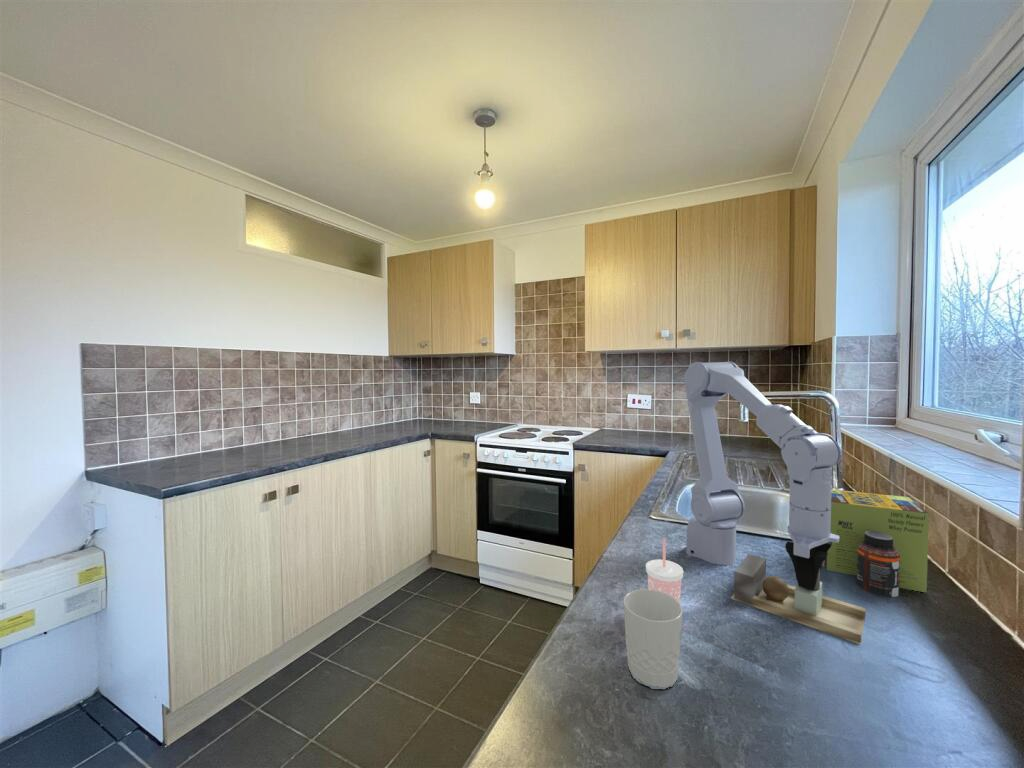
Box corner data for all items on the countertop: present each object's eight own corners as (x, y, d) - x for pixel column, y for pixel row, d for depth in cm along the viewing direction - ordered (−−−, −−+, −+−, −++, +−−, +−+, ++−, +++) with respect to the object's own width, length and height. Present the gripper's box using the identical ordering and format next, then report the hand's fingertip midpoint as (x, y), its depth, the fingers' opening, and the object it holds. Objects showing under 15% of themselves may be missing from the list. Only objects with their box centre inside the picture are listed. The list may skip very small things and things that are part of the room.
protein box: (928, 594, 76) (931, 513, 75) (825, 575, 83) (827, 501, 83) (906, 569, 85) (909, 496, 84) (816, 554, 92) (817, 487, 92)
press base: (730, 604, 74) (730, 571, 74) (746, 582, 81) (746, 552, 81) (860, 652, 61) (861, 612, 61) (865, 621, 69) (866, 585, 68)
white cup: (640, 645, 64) (640, 583, 63) (691, 671, 58) (691, 603, 58) (613, 672, 58) (612, 604, 58) (666, 704, 53) (666, 629, 52)
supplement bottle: (907, 605, 73) (909, 543, 72) (869, 601, 74) (871, 540, 74) (884, 587, 79) (886, 529, 78) (849, 584, 80) (850, 527, 79)
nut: (759, 599, 73) (760, 577, 73) (765, 590, 76) (765, 569, 76) (786, 608, 70) (786, 586, 70) (790, 598, 73) (791, 577, 73)
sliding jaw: (794, 612, 69) (795, 566, 68) (801, 597, 73) (801, 554, 73) (816, 620, 67) (817, 572, 66) (821, 604, 71) (822, 559, 71)
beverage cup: (648, 604, 74) (648, 529, 74) (684, 613, 72) (684, 535, 71) (643, 624, 69) (642, 543, 68) (682, 634, 66) (682, 549, 66)
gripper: (833, 524, 61) (832, 611, 62) (844, 499, 71) (843, 575, 72) (778, 512, 66) (777, 594, 67) (796, 491, 76) (795, 562, 77)
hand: (808, 583), depth 70 cm, fingers closed on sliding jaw, 3 cm apart
